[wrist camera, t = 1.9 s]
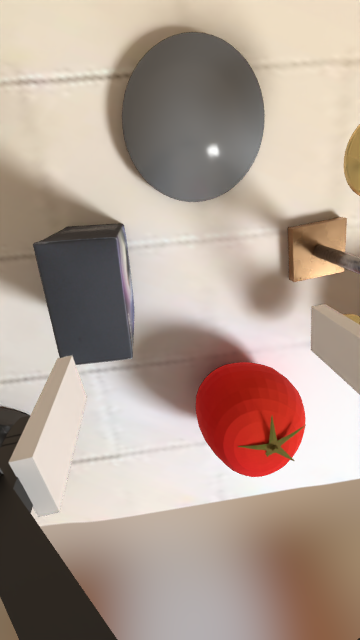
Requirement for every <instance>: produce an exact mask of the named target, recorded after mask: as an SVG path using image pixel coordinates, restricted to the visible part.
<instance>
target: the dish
mask: <svg viewBox="0 0 360 640" xmlns="http://www.w3.org/2000/svg"><path fill="white" fill-rule="evenodd" d="M122 124H123V133H124V139H125V142H126V146H127V149H128V152H129V154H130V157H131V159H132V161H133V163H134V165H135V167H136V168H137V170H138V171H139V173H140V174H141V175H142V177H143V178H144V179H145V180H146V181H147V182H148V183H149V184H150V185H151V186H152V187H154V188H155V189H156V190H158V191H159V192H161V193H162V194H164V195H166V196H169V197H171V198H174V199H177V200H181V201H187V202H199V201H206V200H210V199H213V198H216V197H218V196H220V195H222V194H224V193H226V192H227V191H229V190H230V189H231V188H233V187H234V186H235V185H236V184H237V183H238V182H239V181H240V180H241V179H242V178H243V177H244V176H245V175H246V173H247V172H248V171H249V169H250V167H251V166H252V164H253V162H254V160H255V158H256V156H257V154H258V151H259V148H260V145H261V141H262V136H263V130H264V104H263V98H262V93H261V89H260V86H259V83H258V81H257V78H256V76H255V74H254V72H253V70H252V68H251V67H250V65H249V64H248V62H247V61H246V59H245V58H244V57H243V56H242V55H241V54H240V52H238V51H237V50H236V49H235V48H234V47H233V46H232V45H230V44H229V43H227V42H225V41H224V40H222V39H220V38H218V37H215V36H213V35H209V34H205V33H198V32H189V33H181V34H177V35H174V36H171V37H169V38H167V39H164V40H163V41H161V42H160V43H158V44H157V45H155V46H154V47H153V48H152V49H150V50H149V51H148V52H147V53H146V54H145V55H144V57H143V58H142V59H141V60H140V61H139V63H138V65H137V66H136V68H135V69H134V71H133V73H132V75H131V77H130V80H129V82H128V85H127V88H126V91H125V96H124V101H123V110H122Z"/></svg>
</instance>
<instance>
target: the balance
mask: <svg viewBox="0 0 360 640" xmlns="http://www.w3.org/2000/svg"><path fill="white" fill-rule="evenodd" d="M344 173H345V177H346V180H347V183H348V185H349V186H350V188H351V189H352V190H353V191H354V192H355V193H356V194H357V195H359V196H360V124H359V126H358V127H357V128H356V130H355V131H354V132H353V134H352V136H351V138H350V140H349V142H348V145H347V148H346V151H345V156H344ZM346 223H347V218H343V217H338V218H333V219H328V220H323V221H318V222H313V223H308V224H304V225H299V226H294V227H289V228H288V249H289V279H290V280H291V281H293V282H297V281H302V280H306V279H311V278H316V277H321V276H326V275H330V274H335V273H340V272H344V268H345V269H347V270H350V271H352V272H355V273H357V274H360V257H358V256H355V255H352V254H349V253H346V252H345V243H346ZM343 315H344V316H346V317H348V318H349V319H351V320H353V321H354V322H356V323H358V324H359V325H360V316H357V315H354V314H343Z"/></svg>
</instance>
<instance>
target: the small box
mask: <svg viewBox="0 0 360 640" xmlns="http://www.w3.org/2000/svg"><path fill="white" fill-rule="evenodd" d="M33 247H34V251H35V256H36V260H37V264H38V268H39V273H40V277H41V281H42V285H43V289H44V293H45V298H46V302H47V307H48V311H49V315H50V319H51V323H52V327H53V332H54V336H55V340H56V344H57V349H58V353H59V356H60V358H63V357H67V356H73V359H74V362H75V365H81V364H90V363H99V362H108V361H117V360H126V359H132V357H133V335H134V300H133V290H132V281H131V271H130V263H129V256H128V248H127V240H126V234H125V229H124V225H123V224H106V225H88V226H72V227H65V228H64V229H63V230H61V231H59V232H58V233H55V234H53V235H51V236H49V237H48V238H46V239H44V240H41V241H39V242H36V243H34V244H33Z"/></svg>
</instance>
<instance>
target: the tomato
mask: <svg viewBox="0 0 360 640" xmlns="http://www.w3.org/2000/svg"><path fill="white" fill-rule="evenodd" d="M196 414H197V420H198V424H199V427H200V430H201V432H202V434H203V436H204V439H205V441H206V442H207V444H208V445H209V446H210V448H211V449H212V450H213V452H214V453H215V454H216V456H218V457H219V458H220V459H221V460H222V461H223V462H224V463H225V464H226V465H227V466H228V467H229V468H231V469H232V470H233V471H235V472H237V473H239V474H242V475H245V476H250V477H259V476H265V475H268V474H271V473H274V472H275V471H277V470H279V469H281V468H282V467H283V466H285V465H286V464H287V463H288V461H289V460H293V459H292V457H293V456H294V454H295V453H296V451H297V449H298V447H299V445H300V443H301V440H302V437H303V433H304V429H305V426H306V425H305V411H304V407H303V403H302V400H301V397H300V395H299V393H298V391H297V390H296V389H295V387H294V386H293V385H292V384H291V383H290V382H289V380H288V379H287V378H286V377H284V376H283V375H281V374H280V373H278V372H277V371H276V370H274V369H273V368H270V367H268V366H265V365H261V364H255V363H249V362H239V363H231V364H226V365H224V366H221V367H219V368H217V369H215V370H214V371H212V372H211V373H210V374H209V375H208V376H207V377H206V378H205V379H204V381H203V382H202V384H201V385H200V387H199V389H198V392H197V395H196ZM293 461H294V460H293Z"/></svg>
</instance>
